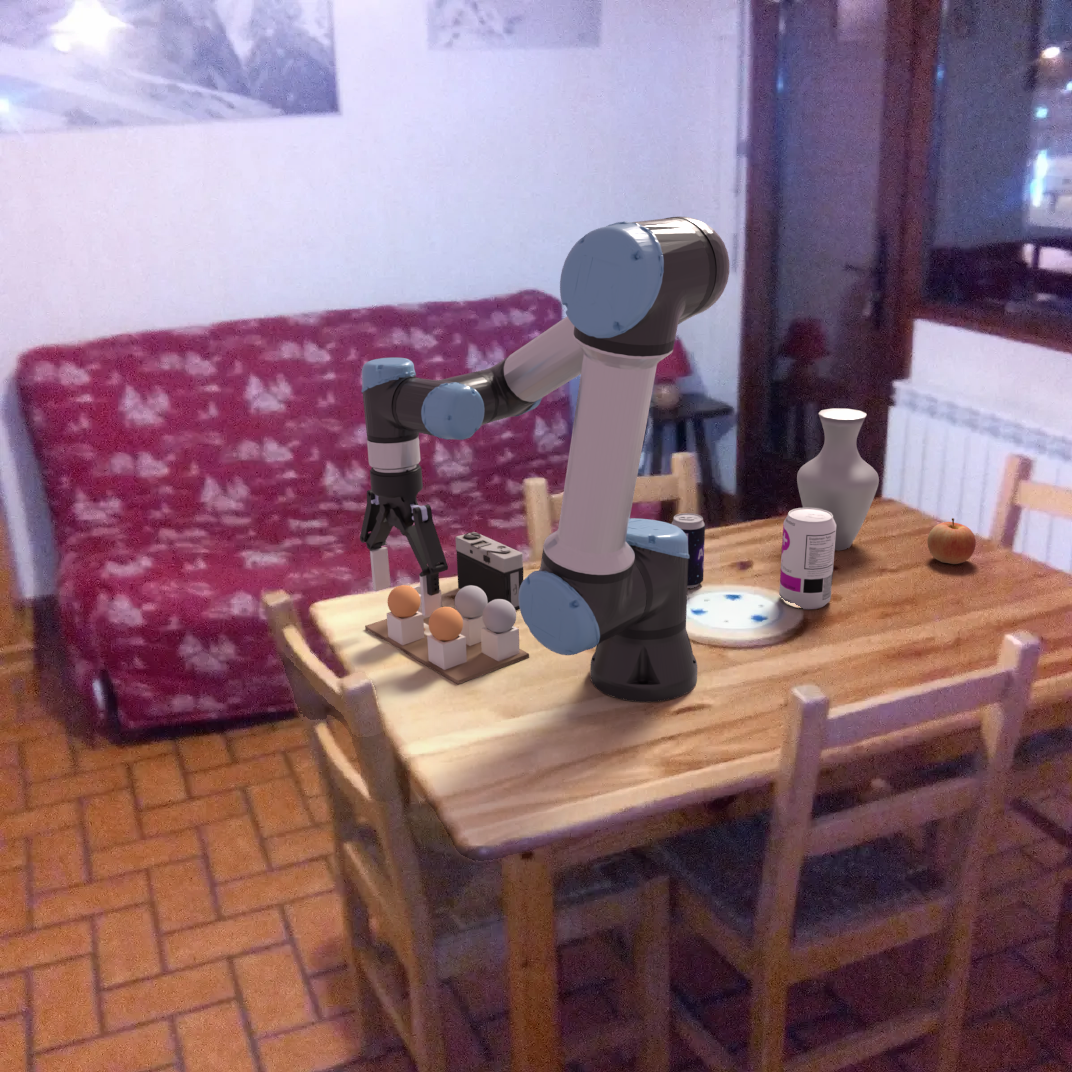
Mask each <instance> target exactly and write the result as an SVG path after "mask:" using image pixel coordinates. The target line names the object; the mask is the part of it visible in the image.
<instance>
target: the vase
mask: <svg viewBox="0 0 1072 1072" xmlns="http://www.w3.org/2000/svg"><path fill="white" fill-rule="evenodd" d="M818 417H819V419H820V423H821V425H822V428H823V429H822V430H823V434H824V442H823V443H824V444H823V446H822V449H821V450H820V452H819V453H818V454H817V455H816V456H815V457H814V458H812V459H810V460H808V461H807V462H805V464H803V465H802V466H801V467H799V470H798V471H797V474H796V475H797V477H796V481H797V482H796V483H797V488H798V492H799V497H800V500H801V506H802V508H817V509H823V510H826V511H828V512H830V513H832V515H833V519H834V521H835V523H836V537H835V550H834V551H843V550H848V549H850V547H851V546H852V544H853V543H854V541H855V539H856V538H857V536H858V534H859V533H860V530H861V528H862V526H863V524H864V522H865V520H866V517H867V515H868V512H869V511H870V508H871V506H872V504H873V501H874V498H875V496H876V493H877V490H878V488H879V484H880V483H879V482H880V479H879V474H878V472H877V470H876V469H874V467H873V466H871V465H870V464H869V463H867V462H866V461H865V460H864V459H863V458H862V457H861V455H860V452H859V450H858V446H857V440H858V439H857V438H858V436H859V433H860V430H861V428H862V426H863V423H864V421H865V418H866V417H867V413H866V412H865V411H862V410H858V409H852V408H839V407H838V408H827V409H822V410H820V411H819V412H818ZM847 548H848V549H847Z"/></svg>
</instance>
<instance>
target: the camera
mask: <svg viewBox="0 0 1072 1072" xmlns="http://www.w3.org/2000/svg"><path fill="white" fill-rule="evenodd" d="M455 552H456V568H457V569H456V571H457V587H458V589H459V590H460V589H462V588H463V587H465V586H470V585H472V586H477V587H479V588H481V589H482V590H483V591H484V592H485V594H486V596H487V600H488V603H489V602H491V601H492V600H495V599H503V600H506V601H508V602H510V603H511V604H512V605H513V607H514V608H515V611H516V610H517V611H518V610H520V607H519V600H518V595H519V589H520V586H521V584H522V582H523V580H524V564H523V563H524V562H523V561H524V559H523V558H524V557H523V552H522V551H519V550H516V549H514V548H512V547H509V546H507V545H506V544H503V543H501V542H498V541H496V540H494V539H492V538H490V537H488V536H486V535H482V534H481V533H479V532H475V531H472V532H471V531H470V532H467V533H464V534H461V535H457V536H455Z"/></svg>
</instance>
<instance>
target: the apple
mask: <svg viewBox="0 0 1072 1072" xmlns="http://www.w3.org/2000/svg"><path fill="white" fill-rule="evenodd" d="M928 533H929V534H928V536H927V539H926V540H927V549H928V551H929V553H930V554H931V556H932V557H933V558H934V559H935V560H937V561H939V562H941V563H946V564H951V565H958V564H962V563H966V562H967V561H968V560H969V559H970V558H971V557H972V555H973V554H974V552H975V550H976V544H977V541H976V537H975V534H974V533H973V531H972V530H971V529H970V528H969V527H968V526H967V525H964V524H961V523H958V522H955V518H953V517H952V518H951V521H944V522H939V523H938V524H936V525H935V526H933V527H932V528H931V530H930V532H928Z"/></svg>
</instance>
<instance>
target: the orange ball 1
mask: <svg viewBox="0 0 1072 1072" xmlns="http://www.w3.org/2000/svg"><path fill="white" fill-rule="evenodd" d="M413 587H414V586H411V585H407V584H402V585H398V586H396V587H394V588H393V589H392V590H391V591H390V592H389V594H388V596H387V607H388V609H389V612H392V613H393V614H394V615H395V616H397V617H400V618H407V617H411V616H413V615H414V614H415V613H416V612H417V611H418V609H419V607H420V603H421V600H420V596H419V593H418V592H417V591H416V590H415V589H414V588H413Z"/></svg>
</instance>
